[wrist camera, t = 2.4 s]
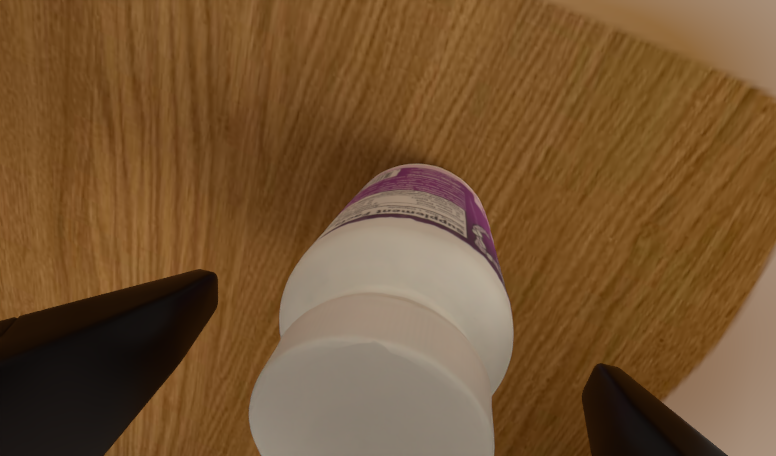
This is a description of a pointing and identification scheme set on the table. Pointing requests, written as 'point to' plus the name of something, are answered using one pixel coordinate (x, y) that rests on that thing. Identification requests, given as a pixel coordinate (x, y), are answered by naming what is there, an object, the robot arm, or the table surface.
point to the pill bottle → (390, 329)
